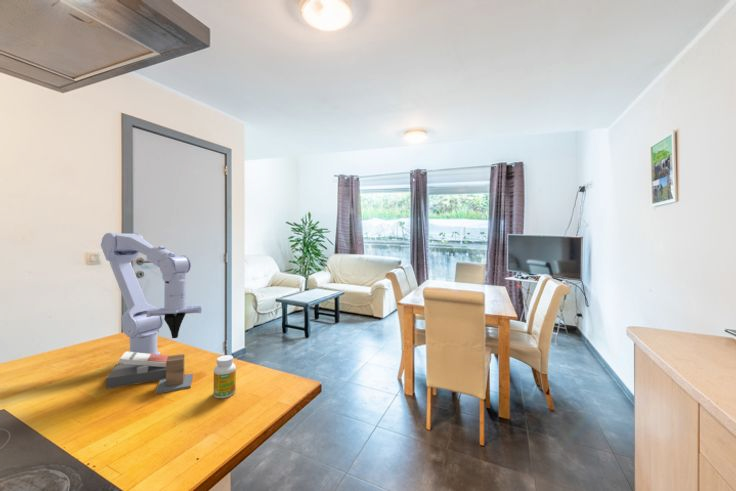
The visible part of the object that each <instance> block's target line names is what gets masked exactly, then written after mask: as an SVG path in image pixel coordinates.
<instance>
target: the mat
mask: <svg viewBox="0 0 736 491" xmlns="http://www.w3.org/2000/svg"><path fill="white" fill-rule="evenodd" d="M193 377H194V373H187V374H184V382H183V384H178V385H172V386H167V387H166V378H161V380H159V383H158V385H157V388H156V390H155V394H162V393H167V392H172V391H173V392H174V391H179V390H184V389H191V386H192V382H193Z"/></svg>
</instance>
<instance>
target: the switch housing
mask: <svg viewBox="0 0 736 491" xmlns="http://www.w3.org/2000/svg"><path fill="white" fill-rule="evenodd" d="M161 378H166V367H157V366H148V365H146V366H145V365H134V364H122V363H120V364H116V365H115V367H114V368H112V370H111V371H110V373H109V374H108V375H107V377H106V379H105V380H106V381H105V387H106V388H105V389H111V388H117V387H125V386H129V385H130V386H131V385H136V384H137V385H138V384H142V383H148V382H154V381H156V382H157V381H160V380H161Z"/></svg>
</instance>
